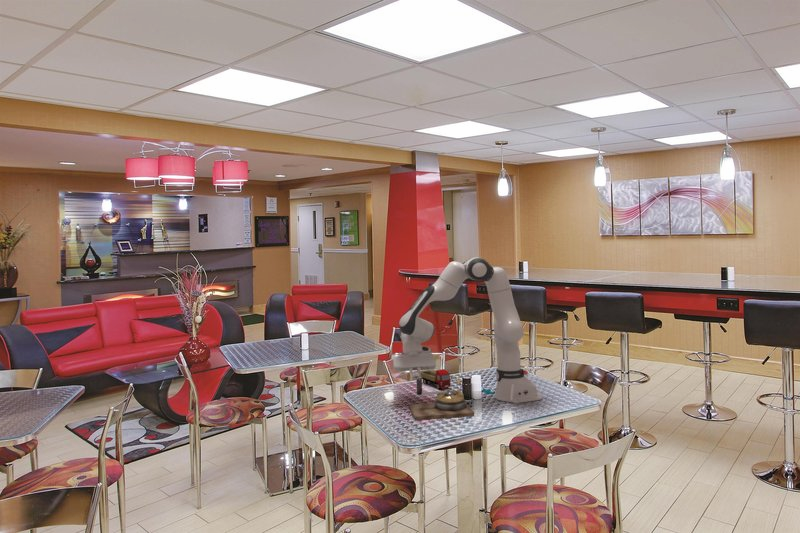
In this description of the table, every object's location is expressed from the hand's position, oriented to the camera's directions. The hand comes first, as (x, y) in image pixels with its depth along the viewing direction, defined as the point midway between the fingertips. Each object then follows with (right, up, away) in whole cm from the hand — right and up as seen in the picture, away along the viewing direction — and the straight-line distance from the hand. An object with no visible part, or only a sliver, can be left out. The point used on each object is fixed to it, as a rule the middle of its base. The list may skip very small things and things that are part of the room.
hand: (416, 377), depth 244 cm
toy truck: (+12, -13, +36) cm, 40 cm away
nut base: (+11, -14, -8) cm, 19 cm away
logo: (+32, -12, +34) cm, 49 cm away
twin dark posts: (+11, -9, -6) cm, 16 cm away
